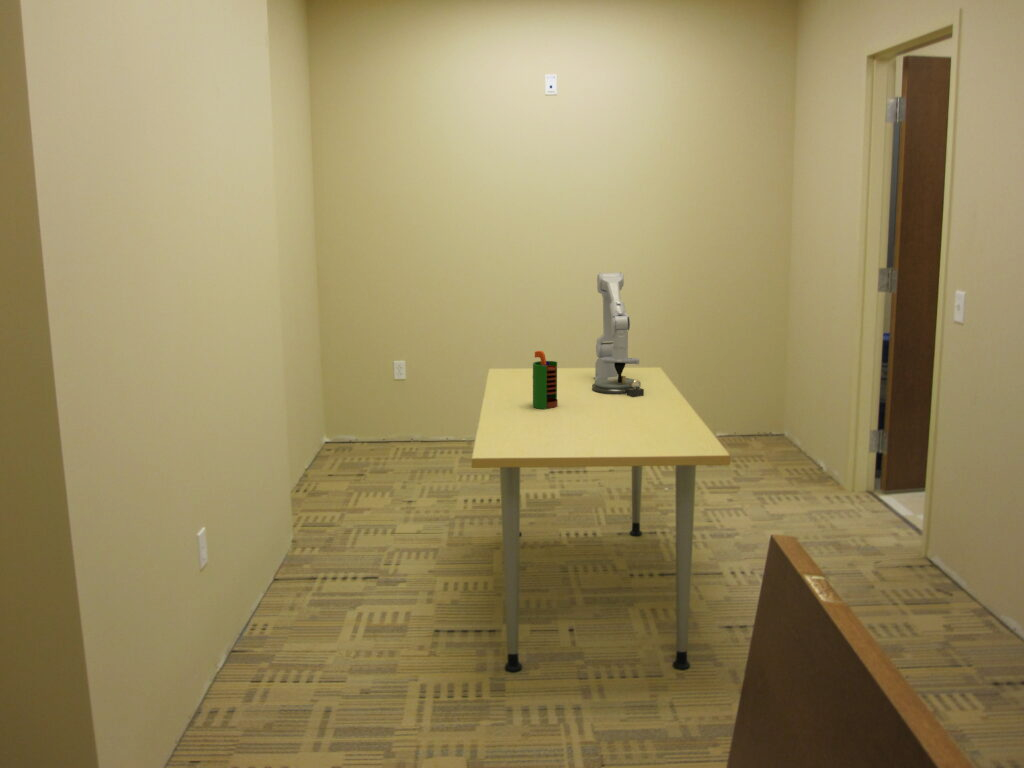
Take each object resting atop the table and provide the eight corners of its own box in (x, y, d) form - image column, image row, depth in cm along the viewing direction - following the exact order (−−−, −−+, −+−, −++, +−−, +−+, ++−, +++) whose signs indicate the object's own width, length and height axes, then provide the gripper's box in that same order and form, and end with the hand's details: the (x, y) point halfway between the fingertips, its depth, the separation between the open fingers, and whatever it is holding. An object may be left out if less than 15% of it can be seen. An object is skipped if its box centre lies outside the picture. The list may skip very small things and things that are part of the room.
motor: (555, 409, 319) (554, 354, 314) (530, 408, 320) (529, 353, 316) (559, 403, 328) (559, 349, 324) (535, 402, 330) (534, 348, 326)
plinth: (583, 387, 353) (583, 384, 353) (620, 382, 361) (620, 378, 361) (609, 396, 337) (609, 392, 337) (648, 390, 346) (648, 386, 345)
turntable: (607, 391, 339) (607, 379, 338) (587, 383, 353) (587, 372, 352) (644, 386, 345) (644, 375, 344) (622, 379, 359) (622, 368, 358)
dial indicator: (624, 394, 340) (624, 379, 338) (635, 393, 342) (635, 377, 341) (632, 397, 335) (633, 381, 334) (643, 395, 338) (643, 379, 336)
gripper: (600, 348, 337) (600, 384, 340) (639, 349, 335) (638, 384, 338) (601, 345, 344) (601, 380, 347) (639, 346, 342) (639, 381, 345)
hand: (619, 382), depth 343 cm, fingers closed, pressing on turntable
